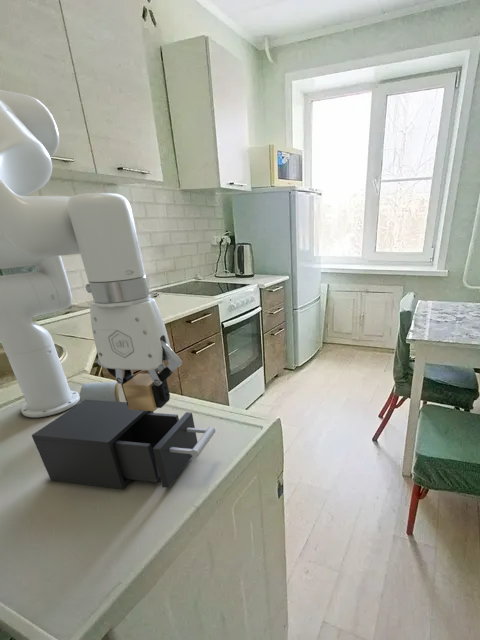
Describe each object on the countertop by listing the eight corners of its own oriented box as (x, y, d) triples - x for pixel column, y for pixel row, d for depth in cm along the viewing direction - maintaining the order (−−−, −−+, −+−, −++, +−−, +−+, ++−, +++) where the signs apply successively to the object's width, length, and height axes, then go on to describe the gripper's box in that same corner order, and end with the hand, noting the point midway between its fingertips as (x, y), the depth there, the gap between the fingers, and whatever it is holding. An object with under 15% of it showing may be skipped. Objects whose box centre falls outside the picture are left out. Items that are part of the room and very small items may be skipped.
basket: (224, 449, 67) (218, 414, 64) (198, 491, 57) (190, 452, 54) (136, 441, 71) (127, 407, 67) (97, 479, 61) (84, 442, 57)
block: (129, 409, 57) (122, 384, 55) (145, 397, 61) (138, 373, 59) (154, 411, 56) (148, 386, 54) (168, 398, 60) (163, 374, 58)
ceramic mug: (123, 416, 82) (115, 386, 79) (85, 422, 80) (75, 391, 77) (131, 397, 91) (124, 369, 88) (97, 401, 90) (88, 374, 87)
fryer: (161, 445, 71) (151, 403, 66) (123, 489, 60) (107, 442, 55) (98, 439, 74) (85, 399, 69) (50, 480, 63) (31, 435, 58)
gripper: (51, 297, 49) (89, 411, 57) (160, 296, 45) (185, 418, 53) (88, 287, 56) (118, 390, 63) (187, 285, 52) (205, 395, 60)
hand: (148, 402), depth 58 cm, fingers closed on block, 4 cm apart
